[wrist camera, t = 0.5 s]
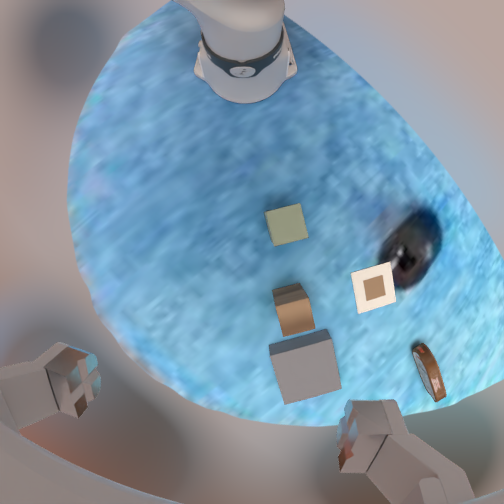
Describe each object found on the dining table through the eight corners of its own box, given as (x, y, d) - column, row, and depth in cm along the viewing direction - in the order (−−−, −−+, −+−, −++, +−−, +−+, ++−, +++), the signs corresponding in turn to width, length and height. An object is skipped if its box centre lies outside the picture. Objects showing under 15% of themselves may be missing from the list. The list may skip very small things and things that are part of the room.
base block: (268, 344, 57) (269, 356, 52) (325, 328, 56) (331, 338, 52) (282, 390, 58) (284, 404, 53) (335, 376, 58) (341, 388, 53)
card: (350, 272, 55) (351, 273, 54) (389, 261, 54) (390, 261, 54) (357, 313, 56) (358, 314, 55) (395, 301, 55) (396, 301, 55)
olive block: (263, 212, 54) (265, 211, 44) (291, 204, 54) (300, 203, 44) (271, 240, 54) (274, 246, 44) (299, 233, 54) (308, 237, 44)
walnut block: (272, 290, 55) (275, 306, 45) (299, 282, 55) (308, 297, 45) (278, 315, 56) (283, 336, 46) (305, 308, 56) (315, 328, 46)
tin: (434, 384, 58) (451, 401, 50) (423, 391, 58) (439, 410, 50) (417, 336, 56) (437, 351, 48) (405, 344, 57) (423, 361, 48)
